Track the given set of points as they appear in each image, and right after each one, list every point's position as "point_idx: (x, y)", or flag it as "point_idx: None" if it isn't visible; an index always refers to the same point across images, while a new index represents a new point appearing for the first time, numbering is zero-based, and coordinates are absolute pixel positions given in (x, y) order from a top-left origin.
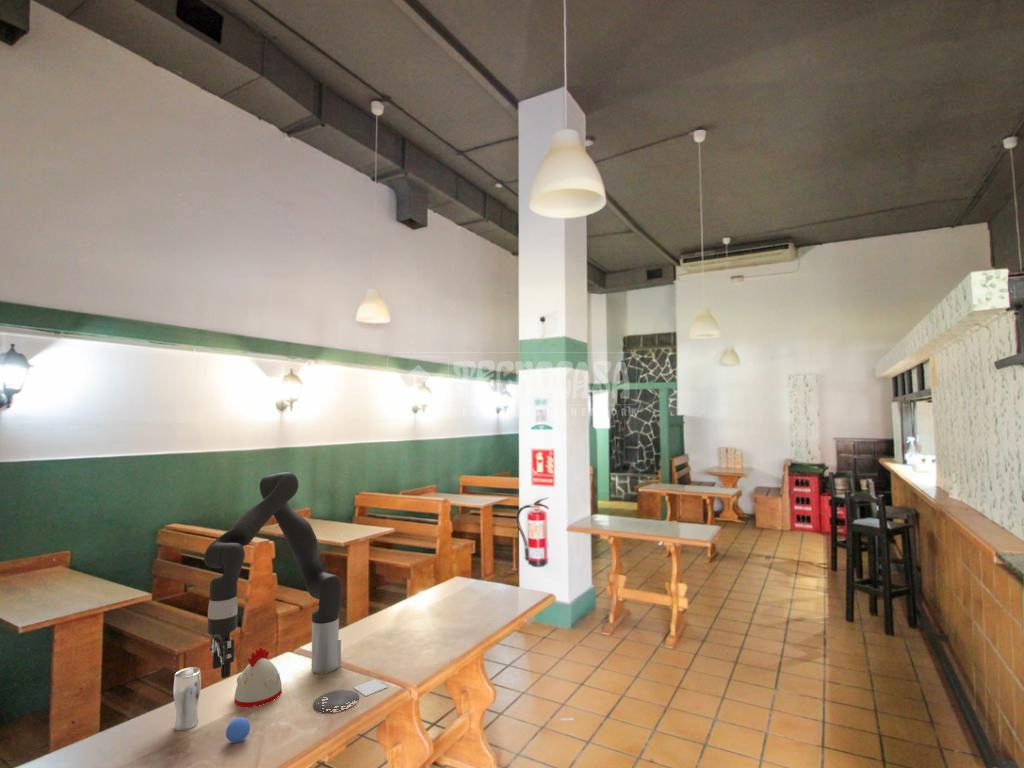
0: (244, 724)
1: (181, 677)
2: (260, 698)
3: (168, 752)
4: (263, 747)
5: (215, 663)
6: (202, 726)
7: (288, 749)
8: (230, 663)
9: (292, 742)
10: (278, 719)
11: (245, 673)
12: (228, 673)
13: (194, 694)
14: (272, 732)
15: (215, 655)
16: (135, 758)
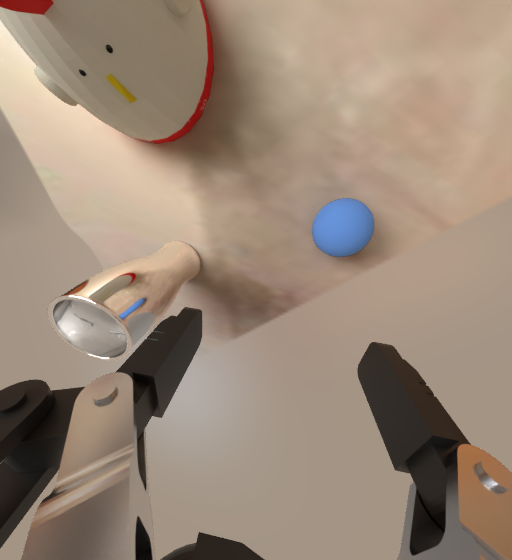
0: (373, 226)
1: (124, 355)
2: (202, 74)
3: (254, 310)
4: (421, 196)
5: (189, 354)
6: (209, 244)
7: (508, 154)
8: (450, 429)
9: (496, 125)
10: (340, 84)
11: (79, 72)
12: (415, 377)
13: (167, 289)
14: (386, 141)
15: (158, 407)
16: (231, 338)
